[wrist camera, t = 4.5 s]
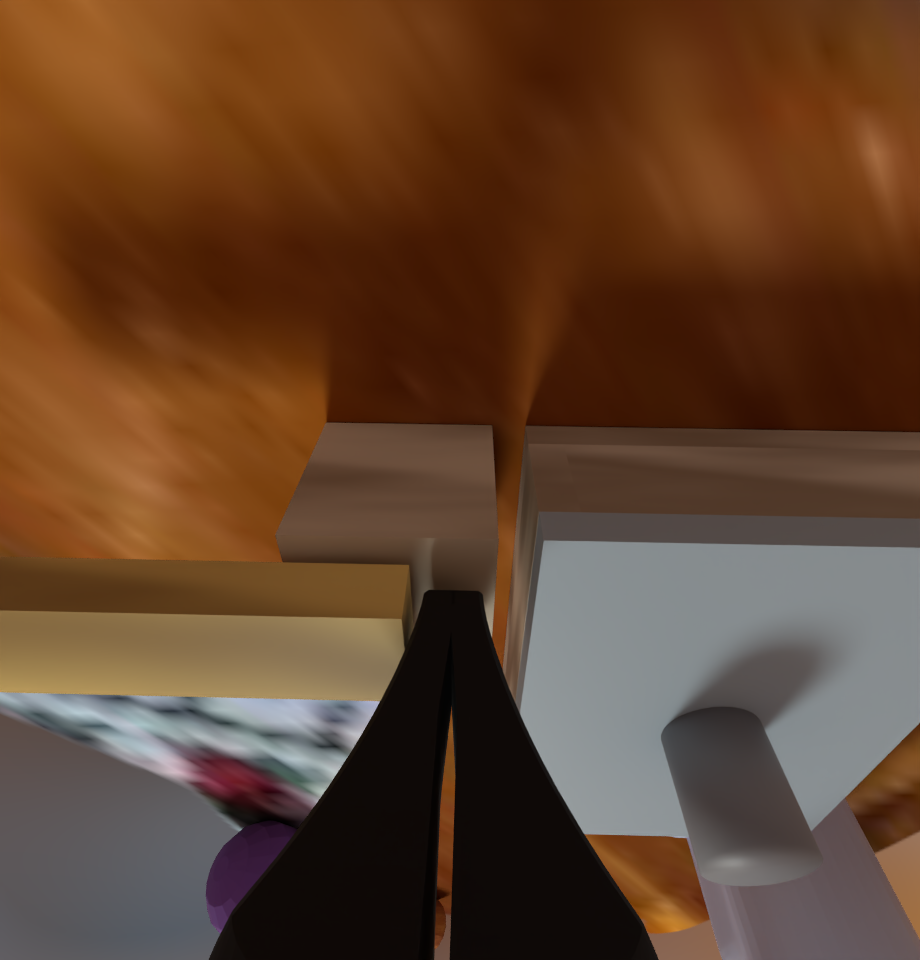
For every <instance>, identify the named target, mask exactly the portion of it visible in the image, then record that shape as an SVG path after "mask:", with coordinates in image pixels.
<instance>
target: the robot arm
mask: <svg viewBox="0 0 920 960" xmlns="http://www.w3.org/2000/svg"><path fill="white" fill-rule="evenodd" d="M451 706H452V719H453V738H454V756H455V775H456V778H455V811H454V843H453V875H452V906H451V937H450V939H451V940H450V960H658V957H657V954H656V952H655V950H654V947H653V945H652V943H651V940H650V938H649V936H648V933H647V931H646V929H645V926H644V924H643V922H642V921H641V919H640V917H639V916H638V915H637V913H636V912H635V910H634V909H633V907H632V906H631V904H630V903H629V902H628V900H627V899H626V897H625V896H624V894H623V893H622V892H621V890H620V889H619V887H618V886H617V884H616V883H615V881H614V880H613V878H612V877H611V875H610V874H609V872H608V871H607V869H606V868H605V866H604V865H603V863H602V861H601V860H600V858H599V857H598V855H597V854H596V852H595V850H594V849H593V847H592V846H591V844H590V843H589V841H588V840H587V838H586V836H585V835H584V833H583V831H582V830H581V828H580V826H579V825H578V823H577V821H576V819H575V818H574V816H573V814H572V813H571V811H570V809H569V808H568V806H567V804H566V802H565V801H564V799H563V797H562V796H561V794H560V792H559V791H558V789H557V787H556V785H555V783H554V781H553V780H552V778H551V776H550V774H549V772H548V770H547V768H546V766H545V765H544V763H543V761H542V759H541V757H540V755H539V753H538V751H537V749H536V747H535V745H534V743H533V741H532V739H531V737H530V735H529V732H528V730H527V728H526V726H525V724H524V722H523V719H522V717H521V715H520V713H519V710H518V708H517V706H516V703H515V701H514V699H513V696H512V694H511V691H510V689H509V686H508V684H507V681H506V678H505V676H504V673H503V670H502V667H501V664H500V662H499V659H498V656H497V653H496V650H495V647H494V644H493V640H492V637H491V633H490V630H489V626H488V622H487V617H486V613H485V607H484V600H483V594H482V593H481V592H479V591H467V590H428V591H426V592H425V593H424V595H423V600H422V604H421V607H420V611H419V614H418V617H417V620H416V623H415V626H414V629H413V631H412V634H411V636H410V639H409V641H408V644H407V646H406V648H405V651H404V653H403V655H402V657H401V660H400V662H399V664H398V667H397V669H396V671H395V673H394V675H393V677H392V679H391V681H390V683H389V685H388V687H387V689H386V691H385V693H384V695H383V697H382V699H381V701H380V703H379V705H378V707H377V708H376V710H375V712H374V714H373V716H372V717H371V719H370V721H369V723H368V725H367V726H366V728H365V730H364V731H363V733H362V735H361V737H360V738H359V740H358V741H357V743H356V745H355V746H354V748H353V750H352V751H351V753H350V755H349V756H348V758H347V759H346V761H345V762H344V764H343V765H342V767H341V768H340V770H339V771H338V773H337V774H336V776H335V778H334V779H333V781H332V782H331V784H330V785H329V787H328V788H327V789H326V791H325V792H324V794H323V795H322V797H321V798H320V799H319V801H318V802H317V804H316V805H315V806H314V808H313V809H312V810H311V812H310V813H309V814H308V816H307V817H306V819H305V820H304V821H303V823H302V824H301V825H300V827H299V828H298V829H297V831H296V832H295V833H294V835H293V836H292V837H291V839H290V840H289V841H288V843H287V844H286V845H285V847H284V848H283V849H282V851H281V852H280V853H279V854H278V856H277V857H276V858H275V859H274V861H273V862H272V863H271V864H270V865H269V867H268V868H267V869H266V870H265V871H264V873H263V874H262V875H261V876H260V878H259V879H258V880H257V881H256V882H255V884H254V885H253V886H252V887H251V888H250V890H249V891H248V892H247V893H246V895H245V896H244V897H243V898H242V899H241V901H240V902H239V903H238V904H237V905H236V907H235V908H234V909H233V911H232V912H231V914H230V916H229V918H228V920H227V922H226V924H225V926H224V928H223V930H222V932H221V934H220V936H219V938H218V940H217V942H216V944H215V946H214V949H213V951H212V953H211V955H210V958H209V960H434V950H435V923H436V896H437V871H438V845H439V821H440V803H441V791H442V781H443V773H444V765H445V756H446V748H447V740H448V731H449V723H450V715H451ZM811 832H812V834H813V837H814V839H815V841H816V843H817V845H818V847H819V850H820V852H821V854H822V856H823V863H822V864H821V866H820V867H819V868H818V869H816V870H815V871H813V872H812V873H810V874H808V875H805V876H803V877H800V878H797V879H794V880H791V881H787V882H782V883H777V884H771V885H762V886H730V885H723V884H718V883H714V882H711V881H709V880H707V879H705V878H703V877H702V876H701V874H700V872H699V869H698V866H697V862H696V859H695V855H694V852H693V848H692V845H691V841H690V838H689V837H681V836H672V837H676V838H687V840H688V844H689V847H690V851H691V854H692V858H693V861H694V865H695V868H696V872H697V875H698V879H699V882H700V886H701V889H702V892H703V896H704V899H705V903H706V906H707V910H708V913H709V917H710V920H711V924H712V927H713V931H714V934H715V938H716V941H717V945H718V948H719V952H720V954H721V957H722V960H920V940H919V937H918V935H917V934H916V932H915V930H914V928H913V926H912V924H911V922H910V920H909V918H908V917H907V915H906V913H905V911H904V909H903V907H902V905H901V903H900V902H899V899H898V898H897V896H896V894H895V892H894V890H893V888H892V886H891V884H890V882H889V881H888V879H887V877H886V875H885V873H884V871H883V869H882V867H881V865H880V864H879V862H878V860H877V858H876V856H875V854H874V852H873V850H872V848H871V846H870V845H869V843H868V841H867V839H866V837H865V835H864V833H863V831H862V829H861V828H860V826H859V824H858V822H857V820H856V818H855V816H854V814H853V812H852V810H851V809H850V807H849V805H848V803H847V801H846V799H845V798H844V799H843V800H842V801H841V802H840V803H839V804H838V805H837V806H836V807H835V808H834V809H833V810H832V811H831V812H830V813H829V814H828V815H827V816H826V817H825V818H824V819H823V820H822V821H821V822H820V823H819V824H818V825H817V826H816V827H815V828H814V829H813V830H812V831H811Z"/></svg>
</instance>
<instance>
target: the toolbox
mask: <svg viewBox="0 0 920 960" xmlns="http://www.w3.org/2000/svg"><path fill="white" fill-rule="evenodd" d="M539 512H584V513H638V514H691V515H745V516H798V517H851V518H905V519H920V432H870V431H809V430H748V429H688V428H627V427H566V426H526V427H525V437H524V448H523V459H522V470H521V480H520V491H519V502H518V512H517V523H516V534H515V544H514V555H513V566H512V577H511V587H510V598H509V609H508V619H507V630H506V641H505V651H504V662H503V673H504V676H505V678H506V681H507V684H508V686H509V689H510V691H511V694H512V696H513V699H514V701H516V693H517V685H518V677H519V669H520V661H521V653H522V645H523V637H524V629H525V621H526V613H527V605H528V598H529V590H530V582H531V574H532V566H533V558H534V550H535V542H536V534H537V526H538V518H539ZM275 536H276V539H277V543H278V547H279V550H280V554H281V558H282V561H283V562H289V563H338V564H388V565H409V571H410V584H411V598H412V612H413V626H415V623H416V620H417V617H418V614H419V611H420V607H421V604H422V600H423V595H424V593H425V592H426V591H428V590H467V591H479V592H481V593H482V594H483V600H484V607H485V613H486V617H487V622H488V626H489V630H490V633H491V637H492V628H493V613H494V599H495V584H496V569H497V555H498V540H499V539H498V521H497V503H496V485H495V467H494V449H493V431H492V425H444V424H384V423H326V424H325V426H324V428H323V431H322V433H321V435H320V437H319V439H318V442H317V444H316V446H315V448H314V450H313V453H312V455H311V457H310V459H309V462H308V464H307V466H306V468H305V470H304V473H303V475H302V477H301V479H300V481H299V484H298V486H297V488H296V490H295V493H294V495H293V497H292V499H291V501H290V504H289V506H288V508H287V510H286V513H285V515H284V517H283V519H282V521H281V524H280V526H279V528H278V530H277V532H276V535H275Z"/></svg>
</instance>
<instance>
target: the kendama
mask: <svg viewBox="0 0 920 960" xmlns="http://www.w3.org/2000/svg"><path fill="white" fill-rule="evenodd" d="M296 831H297V829H296V828H293V827H291V826H288V825H285V824H282V823H280V822H277V821H269V820H268V821H264V822H260V823H256V824H252V825H249V826H246V827H244V828H243V829H242V830H241V831H240V832H239V833H238V834H236V835H235V836H234V837H233V838H232V839H231V840H230V841H229V842H227V843H226V844H225V845H224V846H223V848H222V849H221V850H220V852H219V853H218V855H217V856H216V858H215V860H214V863H213V865H212V867H211V869H210V873H209V876H208V880H207V887H206V900H207V910H208V913H209V917H210V921H211V923H212V925H213V926H214V927H215V928H216V929H217V930H218V932H219V933H220V934H221V932H222V930H223V928H224V926H225V924H226V922H227V920H228V918H229V916H230V914H231V912H232V911H233V909H234V908H235V907H236V905H237V904H238V903H239V902H240V901H241V899H242V898H243V897H244V896H245V895H246V893H247V892H248V891H249V890H250V888H251V887H252V886H253V885H254V884H255V882H256V881H257V880H258V879H259V878H260V876H261V875H262V874H263V873H264V871H265V870H266V869H267V868H268V867H269V865H270V864H271V863H272V862H273V861H274V859H275V858H276V857H277V856H278V854H279V853H280V852H281V851H282V849H283V848H284V847H285V845H286V844H287V843H288V841H289V840H290V839H291V837H292V836H293V835H294V833H295V832H296ZM445 928H446V915H445V912H444V908H443V906H442V904H441V903H440V902H439V900H436V923H435V949H436V948H437V947H438V946H439V944H440V942H441V940H442V939H443V936H444V932H445Z"/></svg>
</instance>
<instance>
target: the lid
mask: <svg viewBox="0 0 920 960" xmlns="http://www.w3.org/2000/svg"><path fill="white" fill-rule="evenodd" d="M515 703H516V706H517V708H518V710H519V713H520V715H521V717H522V719H523V722H524V724H525V726H526V728H527V730H528V732H529V735H530V737H531V739H532V741H533V743H534V745H535V747H536V749H537V751H538V753H539V755H540V757H541V759H542V761H543V763H544V765H545V766H546V768H547V770H548V772H549V774H550V776H551V778H552V780H553V781H554V783H555V785H556V787H557V789H558V791H559V792H560V794H561V796H562V797H563V799H564V801H565V802H566V804H567V806H568V808H569V809H570V811H571V813H572V814H573V816H574V818H575V819H576V821H577V823H578V825H579V826H580V828H581V830H582V831H583V833H584V834H607V835H644V836H681V837H689V838H690V841H691V845H692V848H693V852H694V855H695V859H696V862H697V866H698V869H699V872H700V874H701V876H702V877H703V878H705V879H707V880H709V881H711V882H714V883H718V884H723V885H730V886H762V885H771V884H777V883H782V882H787V881H791V880H794V879H797V878H800V877H803V876H805V875H808V874H810V873H812V872H813V871H815V870H816V869H818V868H819V867H820V866H821V864H822V863H823V856H822V854H821V852H820V850H819V847H818V845H817V843H816V841H815V839H814V837H813V834H812V832H811V831H812V830H813V829H814V828H815V827H816V826H817V825H818V824H819V823H820V822H821V821H822V820H823V819H824V818H825V817H826V816H827V815H828V814H829V813H830V812H831V811H832V810H833V809H834V808H835V807H836V806H837V805H838V804H839V803H840V802H841V801H842V800H843V799H844V798H845V797H846V796H847V795H848V794H849V793H850V792H851V791H852V790H853V789H854V788H855V787H856V786H857V785H858V784H859V783H860V782H861V781H862V780H863V779H864V778H865V777H866V776H867V775H868V774H869V773H870V772H871V771H872V770H873V769H874V768H875V767H876V766H877V765H878V764H879V763H880V762H881V761H882V760H883V759H884V758H885V757H886V756H887V755H888V754H889V753H890V752H891V751H892V750H893V749H894V748H895V747H896V746H897V745H898V744H899V743H900V742H901V741H902V740H903V739H904V738H905V737H906V736H907V735H908V734H909V733H910V732H911V731H912V730H913V729H914V728H915V727H916V726H917V725H918V724H919V723H920V519H905V518H851V517H798V516H745V515H691V514H638V513H584V512H539V518H538V526H537V534H536V542H535V550H534V558H533V566H532V574H531V582H530V590H529V598H528V605H527V613H526V621H525V629H524V637H523V645H522V653H521V661H520V669H519V677H518V685H517V693H516V701H515Z"/></svg>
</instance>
